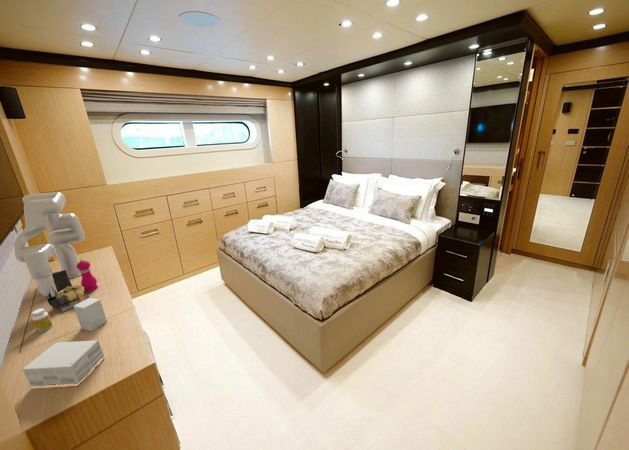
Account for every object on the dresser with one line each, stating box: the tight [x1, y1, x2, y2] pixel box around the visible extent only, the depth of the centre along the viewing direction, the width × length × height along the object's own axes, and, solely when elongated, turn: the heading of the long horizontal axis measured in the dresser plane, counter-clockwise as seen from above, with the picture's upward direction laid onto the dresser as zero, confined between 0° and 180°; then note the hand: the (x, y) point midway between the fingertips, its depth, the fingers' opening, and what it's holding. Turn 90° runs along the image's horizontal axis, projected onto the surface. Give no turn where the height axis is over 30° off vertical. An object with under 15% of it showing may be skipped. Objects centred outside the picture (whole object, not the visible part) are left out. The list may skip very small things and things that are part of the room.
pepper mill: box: [77, 258, 99, 293], centre depth 155 cm, size 7×7×20 cm
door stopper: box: [51, 270, 73, 293], centre depth 156 cm, size 9×6×12 cm, turn 41°
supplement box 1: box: [21, 339, 105, 387], centre depth 98 cm, size 17×13×9 cm
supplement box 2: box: [73, 297, 108, 332], centre depth 123 cm, size 7×7×13 cm
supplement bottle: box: [31, 308, 53, 333], centre depth 123 cm, size 5×5×10 cm
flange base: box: [58, 290, 91, 313], centre depth 144 cm, size 16×12×6 cm
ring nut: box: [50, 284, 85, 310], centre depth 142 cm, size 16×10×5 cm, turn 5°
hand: (54, 303), depth 138 cm, fingers closed
